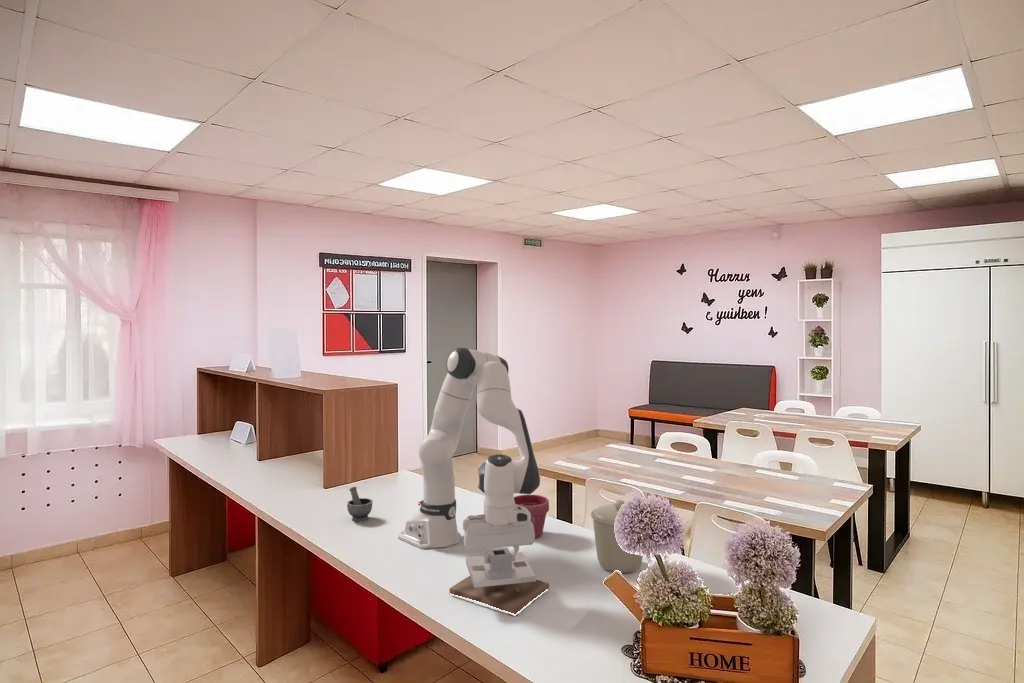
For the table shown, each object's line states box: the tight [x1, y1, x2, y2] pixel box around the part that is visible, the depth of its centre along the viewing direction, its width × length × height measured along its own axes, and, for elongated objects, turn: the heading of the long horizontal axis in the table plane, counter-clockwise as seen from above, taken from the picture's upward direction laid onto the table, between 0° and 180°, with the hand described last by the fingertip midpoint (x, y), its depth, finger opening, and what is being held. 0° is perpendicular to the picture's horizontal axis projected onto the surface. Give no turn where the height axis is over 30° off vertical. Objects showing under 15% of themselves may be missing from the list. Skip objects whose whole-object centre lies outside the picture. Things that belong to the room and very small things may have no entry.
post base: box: [449, 570, 550, 614], centre depth 162 cm, size 22×18×8 cm
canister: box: [590, 499, 644, 574], centre depth 179 cm, size 18×18×21 cm
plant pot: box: [514, 494, 550, 539], centre depth 207 cm, size 14×14×13 cm
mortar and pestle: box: [346, 486, 373, 523], centre depth 224 cm, size 11×9×12 cm
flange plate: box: [465, 547, 537, 588], centre depth 162 cm, size 17×17×6 cm
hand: (499, 561), depth 162 cm, fingers closed on flange plate, 6 cm apart
